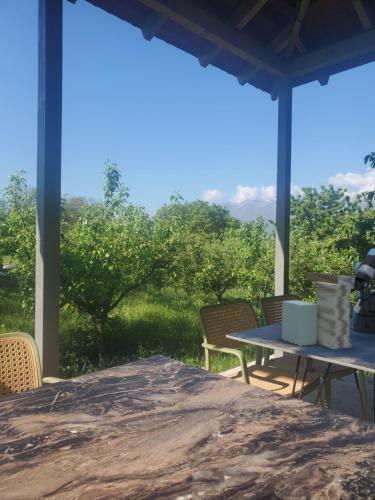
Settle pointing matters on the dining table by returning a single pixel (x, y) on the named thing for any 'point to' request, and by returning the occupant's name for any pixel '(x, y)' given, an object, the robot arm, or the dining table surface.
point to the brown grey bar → (331, 278)
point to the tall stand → (333, 315)
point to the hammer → (351, 309)
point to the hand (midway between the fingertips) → (345, 309)
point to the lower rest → (299, 322)
